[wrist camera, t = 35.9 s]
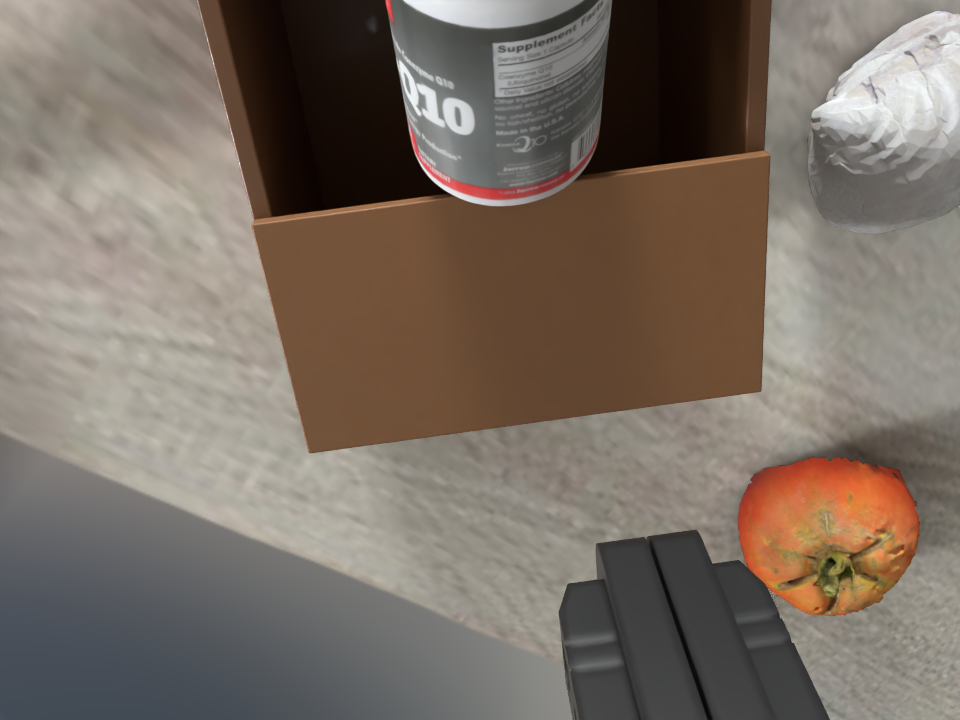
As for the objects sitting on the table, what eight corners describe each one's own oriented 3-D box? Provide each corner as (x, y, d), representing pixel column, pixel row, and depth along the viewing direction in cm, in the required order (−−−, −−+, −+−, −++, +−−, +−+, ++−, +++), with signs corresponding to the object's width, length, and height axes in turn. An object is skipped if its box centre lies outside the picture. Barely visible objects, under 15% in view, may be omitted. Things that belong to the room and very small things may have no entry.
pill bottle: (382, 112, 23) (309, -216, 16) (540, 42, 24) (541, -301, 17) (465, 243, 21) (427, -61, 14) (634, 163, 22) (684, -166, 15)
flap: (765, 149, 23) (771, 153, 22) (757, 385, 26) (761, 392, 25) (253, 219, 22) (250, 224, 22) (309, 446, 26) (308, 454, 25)
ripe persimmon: (810, 421, 37) (941, 568, 34) (862, 401, 42) (979, 527, 40) (681, 530, 41) (789, 670, 38) (744, 499, 46) (842, 620, 44)
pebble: (917, -63, 29) (1005, -45, 25) (1069, 75, 32) (1173, 112, 28) (742, 155, 33) (793, 204, 28) (893, 263, 35) (961, 323, 31)
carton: (667, -175, 27) (781, -179, 19) (670, 249, 34) (754, 379, 26) (240, -118, 27) (170, -97, 19) (332, 295, 34) (309, 440, 26)
